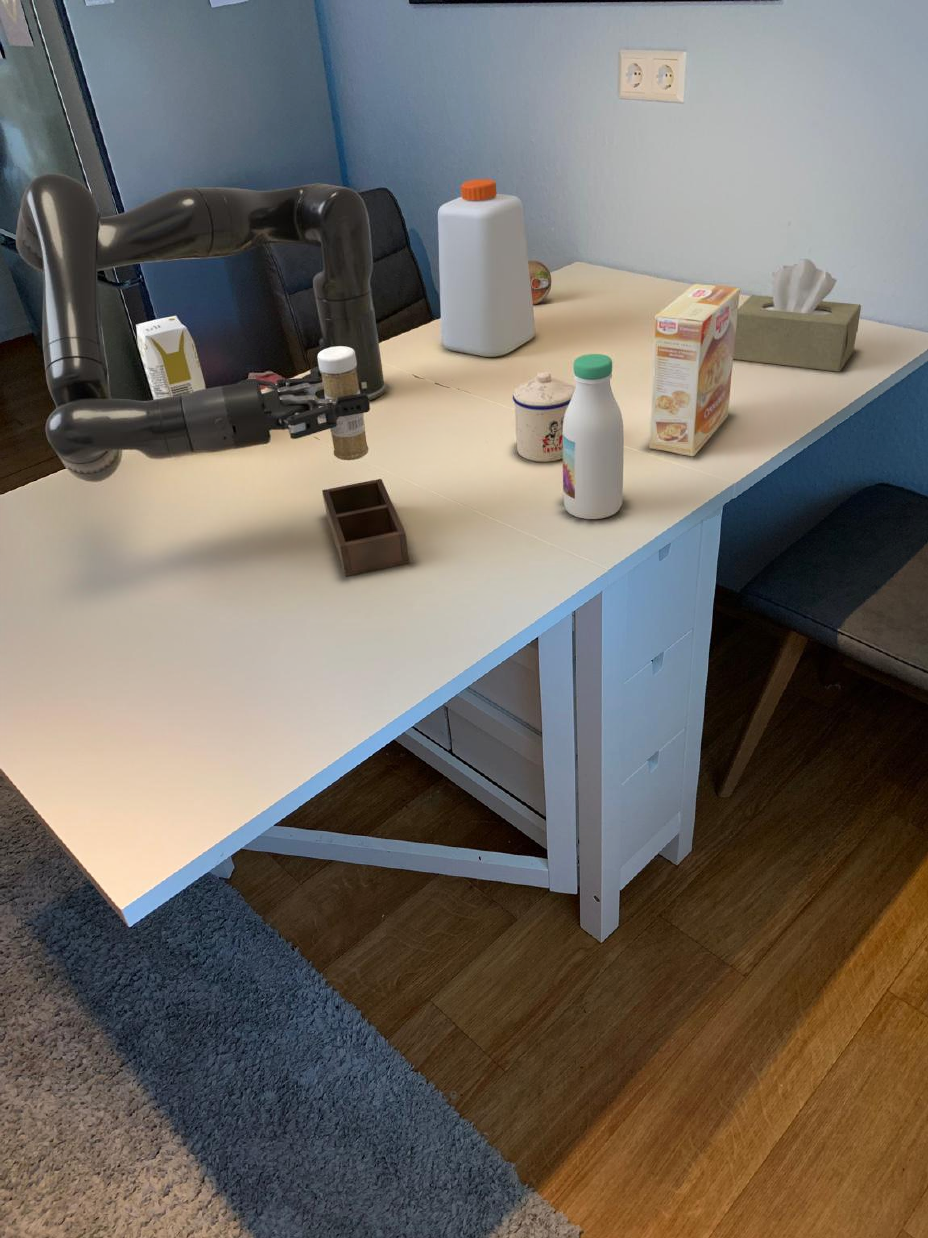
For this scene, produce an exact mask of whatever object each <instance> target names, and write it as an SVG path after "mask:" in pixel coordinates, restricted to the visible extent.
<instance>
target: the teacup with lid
mask: <svg viewBox="0 0 928 1238" xmlns="http://www.w3.org/2000/svg"><path fill="white" fill-rule="evenodd" d="M574 390H575V386H574V385H573V384H572V383H570V382H568V381H566V380H562V379H557V378H554V377H552V374H551V373H550V372H549V371H541V372H538V373H537V374H536V378H534V379H532V380H529V381H526V382H524V383H521V384H520V385H518V386H517V387H516V388H515V389H514V391H513V394H512V401H513V403H514V414H515V415H514V417H515V436H516V437H515V438H516V439H515V440H516V451H517V453H518V455H520V456H521V457H522V458H524V459H526V460H529V461H533V462H542V463H544V462H546V463H547V462H555V461H559V460H563V451H562V436H563V421H564V416H565V413H566V410H567V407H568V405H569V403H570V401H571V399H572V396H573V393H574Z"/></svg>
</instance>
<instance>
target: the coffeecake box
mask: <svg viewBox="0 0 928 1238" xmlns="http://www.w3.org/2000/svg"><path fill="white" fill-rule="evenodd" d="M740 293H741V288H740V287H735V286H728V285H727V286H726V285H714V284H713V285H712V284H703V283H694V284H692V286H690V287H689V288H688V289H687V290H685V291H684V292H682V293H681V295H679V296H678V297H677V298H675V300H673V301H671V302H670V303H669V304H668V305H667V306H666V307H664V308H663V309H662V310H660V312H658V313H656V315H655V316H654V319H655V324H654V327H655V328H654V346H653V347H654V348H653V369H652V371H653V372H652V392H651V414H650V415H651V416H650V434H649V435H650V436H649V449H652V450H656V451H657V450H658V451H664V452H669V453H673V454H678V455H683V456H687V457H688V456H689V457H695V456H696V455H697V453H699V451H700V450H701V449H702V448H703V446H704V445H705V444H706V443H707V442H708V441H709V439H710V438H711V437H712V436H713V435H714V434H715V432H716V431H717V430H718V428H719V427H721V425H722V424H723V423H724V421H726V419H727V418H728V417H729V407H730V395H731V387H732V386H731V385H732V376H733V375H732V374H733V364H734V362H733V361H734V359H733V354H734V344H735V334H736V324H737V314H738V309H739V304H740V303H739V301H740Z"/></svg>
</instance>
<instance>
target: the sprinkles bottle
mask: <svg viewBox="0 0 928 1238" xmlns="http://www.w3.org/2000/svg"><path fill="white" fill-rule="evenodd" d="M316 356H317V357H316V358H317V366H319V370H320V372H321V374H322V380H323V385H324V394H325V399H331V398H335V399H337V398H338V397H344V396H350V395H356V394H360V390H359V385H358V379H357V373H356V368H357V367H356V365H357V362H356V356H355V351H354V350H353V349H352V348H350V347H345V346H337V347H330V348H327V349H324V350H322V351H321V350H320V351H319V352H318V354H317V355H316ZM329 430H330V433H331V439H332V446H333V456H334V457H335V458H337V459H339V460H342V461H355V460H359V459H361V458H363V457H365V456H366V455H368V453H369V450H370V449H369V445H368V443H367V435H366V423H365V417H364V413H360V414H354V415H349V416H343V417H340V419H339V420H338V421H337V426H336V427H334V428H330V429H329Z"/></svg>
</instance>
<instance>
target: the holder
mask: <svg viewBox="0 0 928 1238" xmlns="http://www.w3.org/2000/svg"><path fill="white" fill-rule="evenodd" d="M321 492H322V497H323V503H324V509H325V514H326V518H327V522H328V525H329V529H330V532H331V535H332V537H333V541H334V545H335V547H336V551H337V553H338V557H339V560H340V564H341V566H342V569H343V573H344V576H345V577H349V576H354V575H358V574H364V573H367V572H368V573H369V572H373V571H378V570H382V569H387V568H392V567H396V566H400V565H401V566H402V565H406V564H409V563H410V562H411V561H410V556H409V555H410V554H409V547H408V541H407V533H406V531H405V528H404V526H403V524H402V522H401V520H400V517H399V515H398V513H397V511H396V508H395V506H394V504H393V501H392V500H391V497H390V495H389V493H388V490H387V487H386V486H385V484H384V481H383V479H382V478H378V479H377V478H376V479H372V480H367V481H366V480H365V481H361V482H356V483H352V484H351V483H350V484H346V485H341V486H335V487H331V488H326V489H322V490H321Z"/></svg>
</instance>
